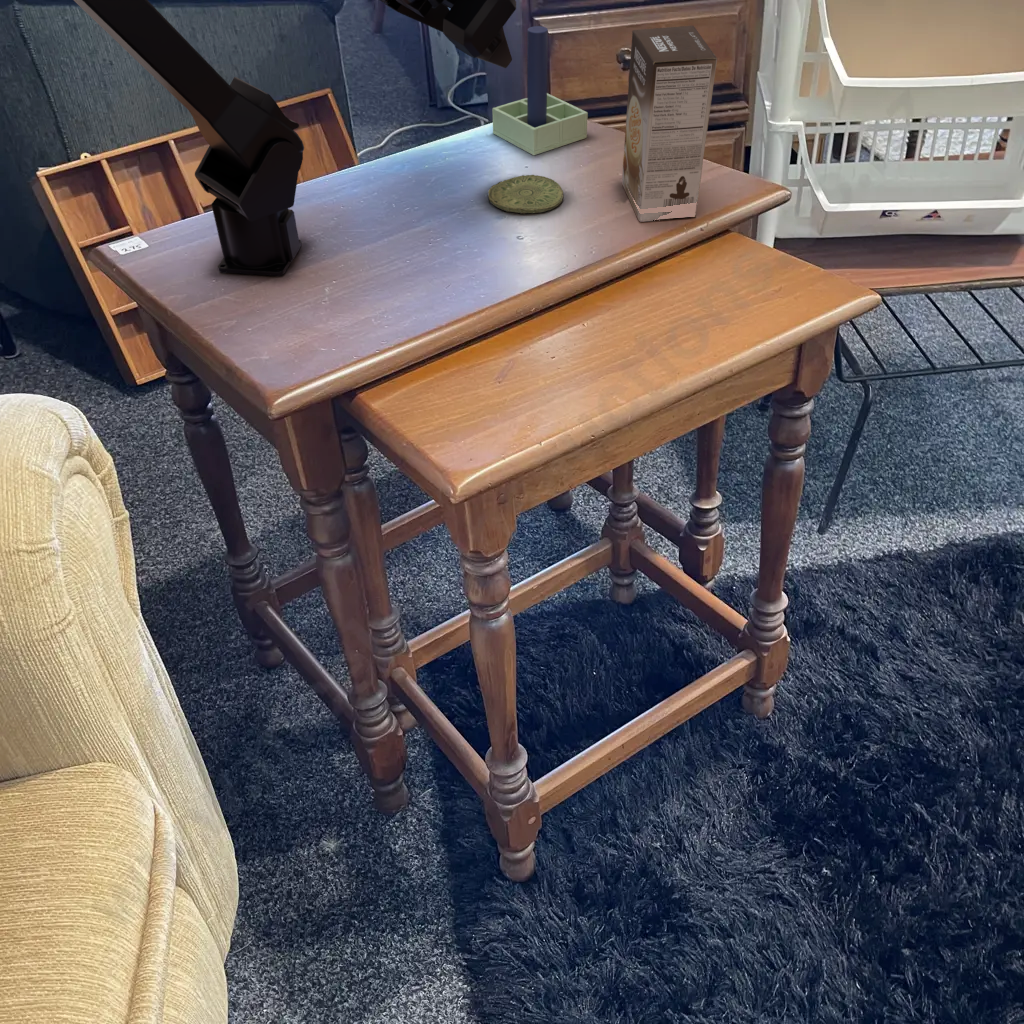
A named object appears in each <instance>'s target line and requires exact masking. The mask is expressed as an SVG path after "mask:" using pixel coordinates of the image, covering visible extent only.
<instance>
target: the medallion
mask: <svg viewBox="0 0 1024 1024" xmlns="http://www.w3.org/2000/svg"><path fill="white" fill-rule="evenodd" d="M487 193H488V195H487V196H488V201H489V203H490V204H491V205H492V206H494V207H495V208H498V209H499V210H502V211H505V212H507V213H516V214H520V215H523V214H538V213H545V212H548V211H551V210H553V209H555V208H557V207H559V205H561V203H562V202H563V200H564V190H563V188H562V187H561V185H560V184H559V183H558V182H557V181H555V179H552V178H549V177H546V176H543V175H537V174H536V175H535V174H526V175H524V174H523V175H518V176H514V177H510V178H508V179H504V180H503V181H499V182H497V183H496V184H493V185H492V186H490V188H489V189H488V192H487Z"/></svg>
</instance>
